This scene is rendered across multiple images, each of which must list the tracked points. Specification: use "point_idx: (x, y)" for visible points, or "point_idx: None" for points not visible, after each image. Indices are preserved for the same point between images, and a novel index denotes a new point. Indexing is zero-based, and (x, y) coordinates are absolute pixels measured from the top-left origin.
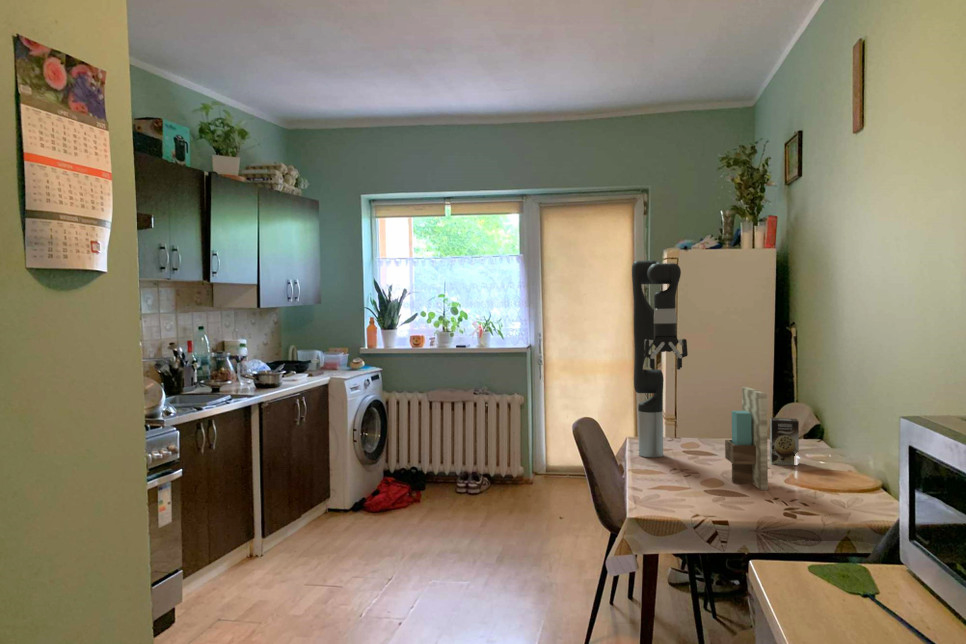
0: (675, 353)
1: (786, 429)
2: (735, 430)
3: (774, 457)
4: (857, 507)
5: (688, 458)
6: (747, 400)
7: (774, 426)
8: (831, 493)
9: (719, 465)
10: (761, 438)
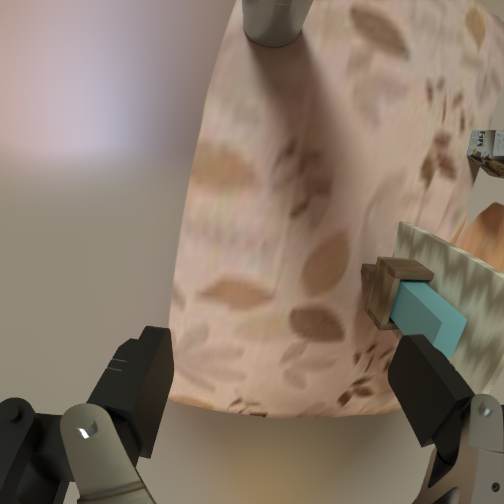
0: (421, 496)
1: None
2: (408, 326)
3: (477, 158)
4: None
5: (348, 65)
6: (489, 328)
7: None
8: None
9: (391, 136)
10: None
